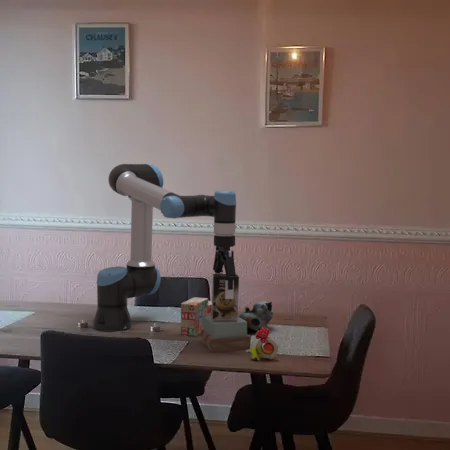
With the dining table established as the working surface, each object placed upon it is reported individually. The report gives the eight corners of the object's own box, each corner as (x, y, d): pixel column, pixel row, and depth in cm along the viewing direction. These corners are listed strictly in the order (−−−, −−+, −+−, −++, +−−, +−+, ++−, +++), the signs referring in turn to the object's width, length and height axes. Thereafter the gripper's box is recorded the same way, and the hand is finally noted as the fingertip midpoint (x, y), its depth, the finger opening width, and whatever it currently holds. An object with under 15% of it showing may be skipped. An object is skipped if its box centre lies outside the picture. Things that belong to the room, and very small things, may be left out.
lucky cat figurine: (236, 324, 247) (251, 294, 249) (263, 338, 245) (278, 306, 247) (233, 323, 232) (249, 290, 234) (262, 337, 230) (278, 304, 232)
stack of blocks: (203, 322, 252) (203, 292, 251) (217, 323, 250) (217, 294, 249) (180, 334, 232) (180, 302, 231) (195, 336, 230) (195, 304, 229)
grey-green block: (203, 330, 221) (203, 316, 221) (234, 327, 226) (234, 314, 225) (215, 338, 210) (215, 324, 210) (246, 335, 214) (247, 321, 214)
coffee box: (212, 321, 213) (213, 276, 212) (211, 317, 219) (212, 273, 218) (238, 321, 214) (239, 276, 212) (236, 317, 220) (237, 273, 219)
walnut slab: (201, 343, 223) (201, 329, 222) (237, 340, 227) (237, 327, 226) (212, 353, 209) (212, 339, 209) (250, 350, 214) (250, 336, 213)
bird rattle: (272, 362, 205) (248, 350, 207) (285, 333, 204) (261, 321, 205) (269, 368, 199) (244, 355, 201) (283, 339, 197) (258, 326, 199)
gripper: (246, 238, 202) (245, 301, 204) (224, 231, 226) (223, 287, 228) (224, 239, 200) (223, 302, 202) (205, 231, 224) (204, 288, 226)
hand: (223, 294), depth 215 cm, fingers open, 13 cm apart
